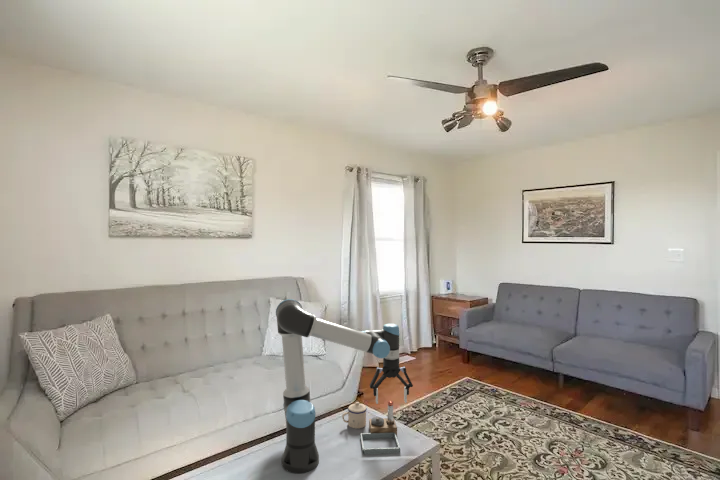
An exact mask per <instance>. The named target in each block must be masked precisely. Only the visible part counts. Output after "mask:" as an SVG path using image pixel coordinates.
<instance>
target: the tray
mask: <svg viewBox="0 0 720 480" xmlns="http://www.w3.org/2000/svg"><path fill="white" fill-rule="evenodd" d="M359 435H360V437H359V439H360V444H361V450H362V455H377V454H382V455H383V454H401V447H400V443H399V440H398V436H396V434H395V432H392V433H370V432H367V433H365V432H363V433H362V432H361V433H360V434H359ZM387 438H393V439H394V442H395V445H396V447H375V448H373V447H371V448H365V446H364V445H365V444H364V439H387Z"/></svg>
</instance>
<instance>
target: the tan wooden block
mask: <svg viewBox="0 0 720 480" xmlns="http://www.w3.org/2000/svg"><path fill="white" fill-rule="evenodd" d="M387 422H388V417H385V418H384V417H380V416H376V417H375V416H374V417H372V418H369V419H368V427H369V433H392V432H395V434H396V437H398V426H397V423H396V421H395V418H394V417H393V425H387Z"/></svg>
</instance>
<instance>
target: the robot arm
mask: <svg viewBox="0 0 720 480" xmlns="http://www.w3.org/2000/svg"><path fill="white" fill-rule="evenodd" d="M275 316H276V326H277V333H278V334H279V335H280V336H281V342H282V343H281V344H282V353H283V354H282V355H283V365H284V366H283V367H284V376H285V377H284V379H285V389H284V390H283V392H282V395H283V410H284V416H285V423H286V430H285V432H286V433H285V434H286V435H285V437H286V440H285V441H286V444H285V447H284V451H283V453H282V455H281V456H282V457H281V466H282V468H283V469H284V470H285V471H286V472H289V473H294V474H302V473H303V474H304V473H307V472H310V471H313V470H314V469H316V468H317V466H318V465H319V462H320V454H319V452H318V448H317V445H316V415H317V414H316V407H315V405H314V404H313V403H312V402H311V393H310V387H308V386H307V385H306V374H305V372H306V371H305V362H304V361H305V360H304V349H303V337H304V338H309V337H312V338H317V339H320V340H324V341H327V342H331V343H334V344H337V345H341V346H344V347H347V348H351V349H354V350H358V351H361V352H363V353H364V352H365V353H368V354H371V355H373V356H374V357H376V358H377V359H383V361H382V367H379V366H377V367H376V369H375V370H376V371H375V373H374V375H373V377H372V379H371V381H370V383H369V388H370V389H373V393H372V395H373V396H374V397H375V404H376V405H377V404H379V386H380V385H381V384H382V383H383V382H384V381H385V380H386V379H387V378H389V379H390V378H394V379H395V378H397V379H398V380H399V381H400V382H401V383H402V384H403V401H404V403H405V404H406V403H408V399H407V398H408V396H409V394H410V388H412V387H414V384H413V383H412V381H411V379H410V377H409V375H408V373H407V369H406V367H405V365H403V366H402V367H400V358H399V357H400V327H399V325H398V324H396V323H385V324H384V325H383V326H382V329H367V330H366V329H365V330H357V329H354V328H352V327H351V328H350V327H347V326H344V325H340V324H338V323H334V322H330V321H327V320H325V319H321V318H318V317H316V315H315V314H314V313H310V312H308V311H306V310H305V309H304V307H303V306H302V304H301V303H300V302H299V301H297V300H296V299H292V298H288V299H284V300H282V301H280V302H279V304H278V305H277V307H276V309H275ZM382 372H383V373H382ZM400 372H401V373H403V375H404V376H405V379H406V380H407V381H406V380H405V379H404V378H403V377H402V376H401V375H400ZM381 373H382V375H381V376H380V378H379V375H380V374H381ZM378 378H379V379H378ZM377 379H378V380H377ZM407 382H408V383H407Z"/></svg>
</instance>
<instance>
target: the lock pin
mask: <svg viewBox="0 0 720 480" xmlns="http://www.w3.org/2000/svg"><path fill="white" fill-rule="evenodd" d="M387 418H388V422H387V425H393V418H394V401H393V400H388V401H387Z"/></svg>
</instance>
